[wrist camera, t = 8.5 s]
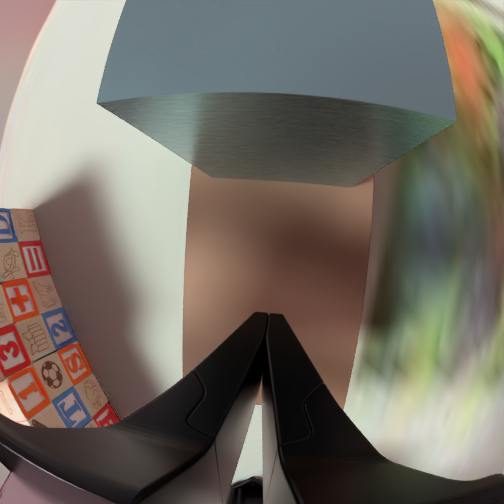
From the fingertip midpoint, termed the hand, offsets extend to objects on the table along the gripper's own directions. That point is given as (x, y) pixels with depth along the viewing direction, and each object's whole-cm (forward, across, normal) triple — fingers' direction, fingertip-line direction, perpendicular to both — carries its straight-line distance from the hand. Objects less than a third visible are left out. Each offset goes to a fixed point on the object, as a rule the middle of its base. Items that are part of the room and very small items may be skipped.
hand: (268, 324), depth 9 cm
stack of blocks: (+8, +19, +11) cm, 24 cm away
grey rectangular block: (+6, 0, -6) cm, 9 cm away
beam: (+11, 0, -3) cm, 12 cm away
